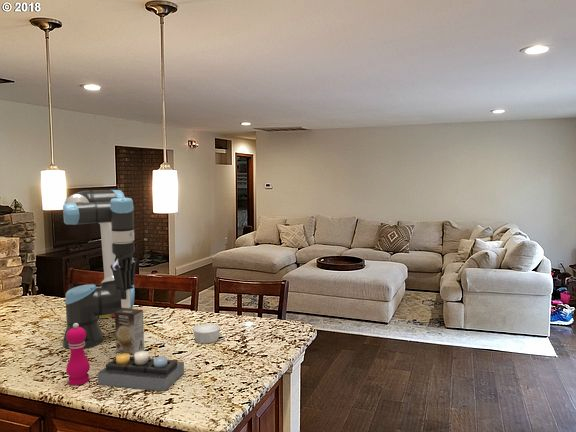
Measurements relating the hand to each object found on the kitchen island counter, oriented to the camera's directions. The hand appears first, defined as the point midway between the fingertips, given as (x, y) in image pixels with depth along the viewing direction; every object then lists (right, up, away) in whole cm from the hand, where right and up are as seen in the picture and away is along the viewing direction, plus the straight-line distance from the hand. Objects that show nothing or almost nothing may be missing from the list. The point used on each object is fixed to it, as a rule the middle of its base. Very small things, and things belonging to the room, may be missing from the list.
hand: (126, 307), depth 166 cm
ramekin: (+24, -19, +28) cm, 41 cm away
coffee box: (-4, -21, +17) cm, 27 cm away
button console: (+9, -22, -9) cm, 25 cm away
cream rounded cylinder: (+8, -20, -9) cm, 24 cm away
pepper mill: (-12, -23, -10) cm, 28 cm away
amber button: (+2, -22, -7) cm, 23 cm away
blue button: (+15, -22, -10) cm, 28 cm away
